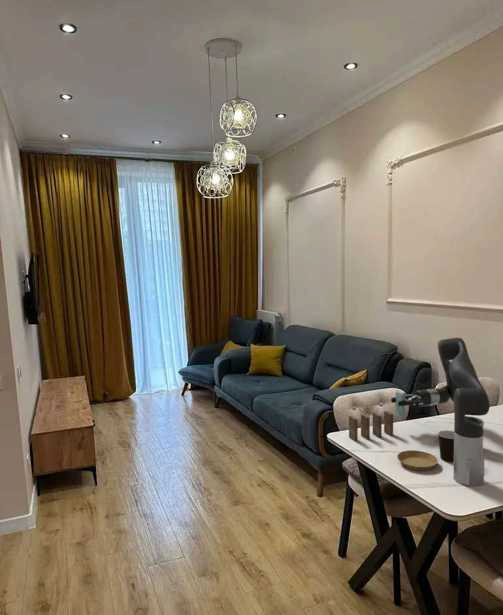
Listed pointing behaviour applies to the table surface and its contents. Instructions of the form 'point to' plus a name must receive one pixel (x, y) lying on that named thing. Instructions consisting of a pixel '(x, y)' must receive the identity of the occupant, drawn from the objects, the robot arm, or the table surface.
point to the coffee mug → (446, 445)
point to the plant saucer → (417, 460)
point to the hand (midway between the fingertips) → (395, 401)
